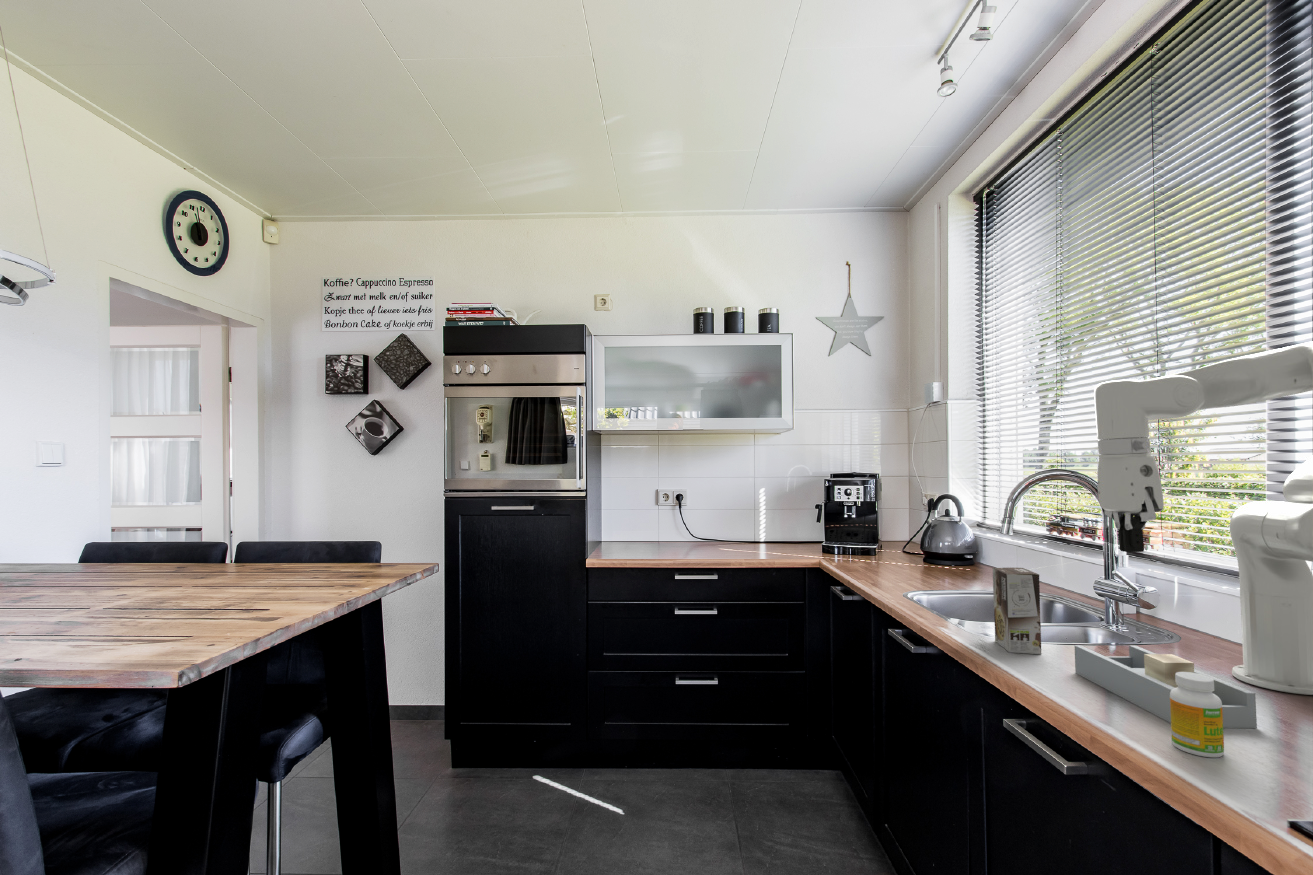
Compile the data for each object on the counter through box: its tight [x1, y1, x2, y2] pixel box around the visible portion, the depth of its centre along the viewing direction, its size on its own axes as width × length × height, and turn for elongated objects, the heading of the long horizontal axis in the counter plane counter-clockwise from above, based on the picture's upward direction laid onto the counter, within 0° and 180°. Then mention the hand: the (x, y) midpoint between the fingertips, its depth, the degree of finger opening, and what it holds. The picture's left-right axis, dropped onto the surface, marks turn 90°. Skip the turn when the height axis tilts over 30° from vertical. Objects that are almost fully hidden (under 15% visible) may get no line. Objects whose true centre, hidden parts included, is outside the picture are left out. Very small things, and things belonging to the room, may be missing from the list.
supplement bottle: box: [1170, 672, 1225, 759], centre depth 85 cm, size 5×5×10 cm
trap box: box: [1074, 644, 1258, 729], centre depth 103 cm, size 11×24×5 cm, turn 178°
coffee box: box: [992, 567, 1042, 655], centre depth 132 cm, size 9×6×16 cm
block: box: [1144, 653, 1195, 688], centre depth 100 cm, size 4×4×4 cm
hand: (1132, 551), depth 112 cm, fingers closed
